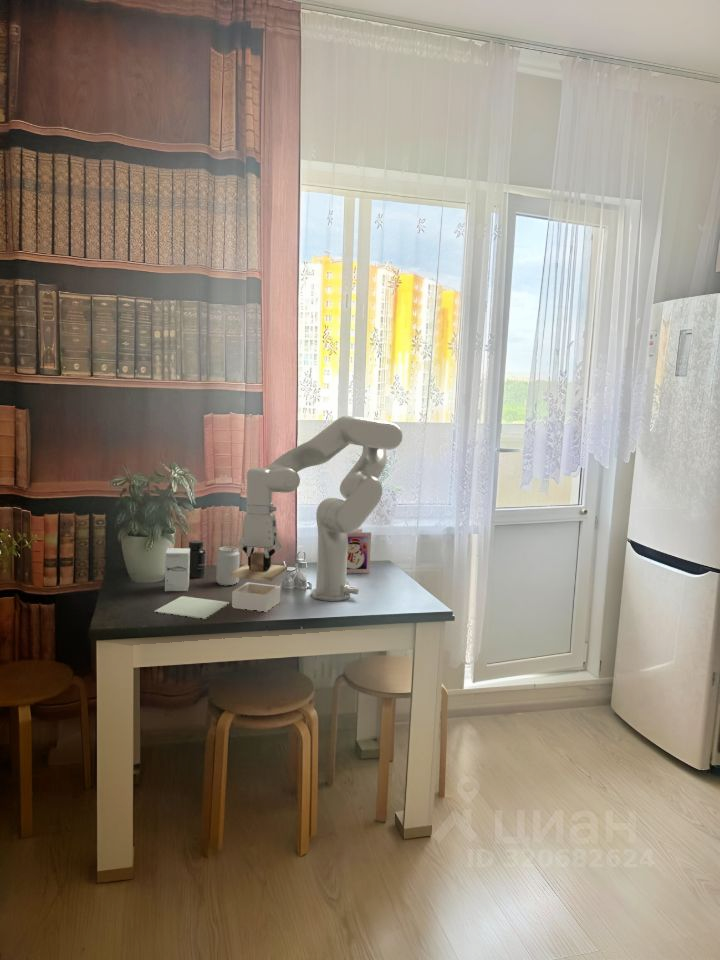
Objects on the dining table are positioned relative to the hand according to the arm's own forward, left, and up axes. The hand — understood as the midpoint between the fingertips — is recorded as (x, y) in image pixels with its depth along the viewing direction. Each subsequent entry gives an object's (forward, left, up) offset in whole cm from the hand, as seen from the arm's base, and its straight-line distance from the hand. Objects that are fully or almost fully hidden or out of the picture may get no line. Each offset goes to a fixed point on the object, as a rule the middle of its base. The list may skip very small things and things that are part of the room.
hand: (259, 568), depth 221 cm
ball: (0, 0, -9) cm, 9 cm away
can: (+18, -18, -11) cm, 28 cm away
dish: (0, 0, -11) cm, 11 cm away
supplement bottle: (+32, -22, -11) cm, 41 cm away
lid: (0, 0, -1) cm, 1 cm away
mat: (+16, +10, -11) cm, 22 cm away
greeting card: (-16, -51, -11) cm, 54 cm away
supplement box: (+30, -6, -11) cm, 33 cm away
